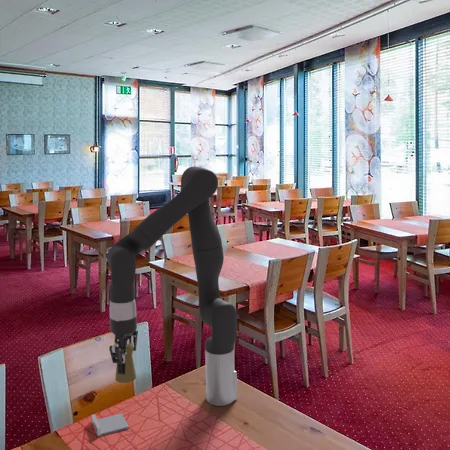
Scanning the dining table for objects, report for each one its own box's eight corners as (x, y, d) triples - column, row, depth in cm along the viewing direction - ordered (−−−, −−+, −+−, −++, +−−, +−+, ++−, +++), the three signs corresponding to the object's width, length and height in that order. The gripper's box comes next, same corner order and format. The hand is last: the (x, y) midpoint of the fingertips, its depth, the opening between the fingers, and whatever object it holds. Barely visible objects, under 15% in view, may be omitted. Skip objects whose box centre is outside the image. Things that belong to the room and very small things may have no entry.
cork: (139, 378, 147) (138, 343, 145) (120, 384, 143) (119, 348, 141) (130, 371, 152) (129, 336, 150) (111, 377, 148) (110, 341, 146)
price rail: (95, 421, 151) (95, 414, 150) (101, 435, 144) (100, 427, 143) (92, 422, 150) (91, 414, 150) (97, 436, 143) (97, 428, 143)
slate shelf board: (121, 415, 154) (121, 413, 154) (128, 428, 147) (128, 426, 147) (95, 421, 151) (95, 419, 151) (101, 435, 144) (101, 433, 143)
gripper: (122, 306, 152) (124, 359, 155) (98, 322, 138) (101, 380, 141) (145, 308, 150) (147, 362, 153) (123, 324, 137) (126, 383, 139)
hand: (125, 370), depth 147 cm, fingers closed on cork, 4 cm apart
